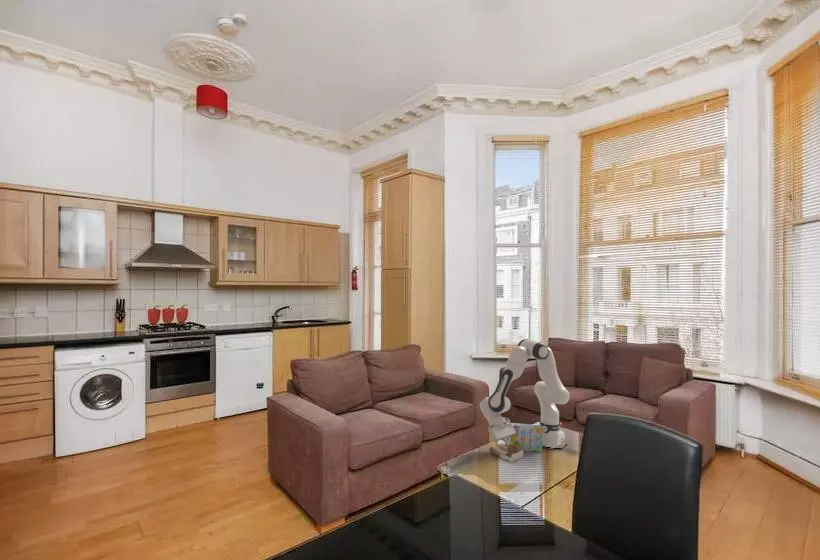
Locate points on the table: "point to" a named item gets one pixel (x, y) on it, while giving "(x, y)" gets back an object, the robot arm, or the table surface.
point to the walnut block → (514, 449)
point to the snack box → (528, 437)
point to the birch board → (499, 449)
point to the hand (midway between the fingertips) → (510, 444)
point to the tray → (512, 456)
